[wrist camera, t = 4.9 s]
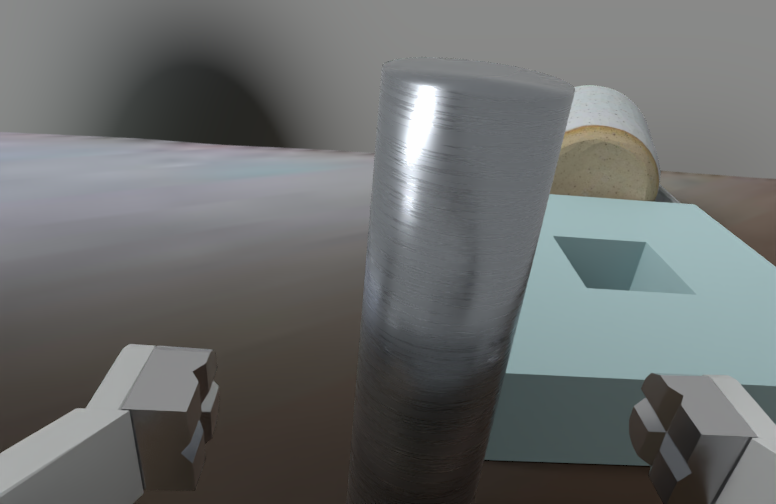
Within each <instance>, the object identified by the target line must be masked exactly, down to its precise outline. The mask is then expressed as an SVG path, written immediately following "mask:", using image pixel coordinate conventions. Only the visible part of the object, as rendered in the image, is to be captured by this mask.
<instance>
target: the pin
mask: <svg viewBox="0 0 776 504" xmlns="http://www.w3.org/2000/svg"><path fill="white" fill-rule="evenodd" d="M574 94H575V88H574V86H572V85H571V84H570V83H568V82H566V81H564V80H562V79H559V78H557V77H554V76H551V75H548V74H545V73H541V72H537V71H533V70H529V69H525V68H520V67H514V66H509V65H503V64H498V63H491V62H483V61H475V60H465V59H453V58H432V57H429V58H427V57H421V58H404V59H396V60H392V61H388V62H386V63H384V64H383V65H382V74H381V85H380V97H379V109H378V122H377V134H376V146H375V158H374V171H373V183H372V195H371V208H370V220H369V232H368V244H367V257H366V269H365V281H364V294H363V306H362V318H361V330H360V343H359V355H358V367H357V379H356V392H355V404H354V416H353V429H352V441H351V453H350V465H349V478H348V490H347V502H346V504H473V503H474V499H475V495H476V491H477V487H478V482H479V478H480V474H481V470H482V466H483V462H484V458H485V454H486V450H487V446H488V442H489V438H490V434H491V430H492V426H493V422H494V418H495V414H496V410H497V405H498V401H499V397H500V393H501V389H502V385H503V381H504V377H505V373H506V369H507V365H508V361H509V357H510V353H511V349H512V345H513V341H514V337H515V333H516V328H517V324H518V320H519V316H520V312H521V308H522V304H523V300H524V296H525V292H526V288H527V284H528V280H529V276H530V272H531V268H532V264H533V260H534V256H535V252H536V247H537V243H538V239H539V235H540V231H541V227H542V223H543V219H544V215H545V211H546V207H547V203H548V199H549V195H550V191H551V187H552V183H553V179H554V175H555V170H556V166H557V162H558V158H559V154H560V150H561V146H562V142H563V138H564V134H565V130H566V126H567V122H568V118H569V114H570V110H571V106H572V102H573V98H574Z"/></svg>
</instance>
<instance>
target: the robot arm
mask: <svg viewBox="0 0 776 504" xmlns="http://www.w3.org/2000/svg"><path fill="white" fill-rule="evenodd" d="M217 368H218V366H217V357H216V352H215V351H214V350H211V349H197V348H184V347H171V346H152V345H137V344H129V345H127V346H126V347H124V348H123V349H122V351H121V352H120V354H119V355H118V357H117V359H116V360H115V362H114V363H113V365H112V367H111V368H110V370H109V371H108V373H107V375H106V376H105V378H104V380H103V381H102V383H101V384H100V386H99V388H98V389H97V391H96V392H95V394H94V396H93V397H92V399H91V400H90V402H89V404H88V405H87V407H86V408H85V409H84V408H76V409H74V410H73V411H71V412H69V413H68V414H66V415H64V416H62V417H61V418H59V419H57V420H56V421H54V422H52V423H51V424H49V425H47V426H46V427H44V428H42V429H40V430H39V431H37V432H35V433H34V434H32V435H30V436H29V437H27V438H25V439H23V440H22V441H20V442H18V443H17V444H15V445H13V446H12V447H10V448H8V449H6V450H5V451H3V452H1V453H0V504H133V503H134V502H135V501H136V500H137V499H138V498H139V497H141V496H142V495H143V494H144V491H143V490H158V491H195V490H196V487H197V484H198V481H199V478H200V475H201V472H202V469H203V466H204V463H205V460H206V455H205V444H206V443H207V442H208V441H210V440H211V439H212V438H213V435H214V431H215V428H216V424H217V418H218V412H219V398H220V396H219V386H218V385H217V384H216V383H215V382H214V381H213V379H214V376H215V373H216V371H217ZM641 390H642V392H643V394H644V396H645V398H644V399H643V400H641V401H640V402H639V403H637V404H636V405H635V406H634V407H633V410H632V412H631V415H630V418H629V435H630V439H631V443H632V446H633V448H634V450H635V452H636V454H637V455H638V456H639V457H640V458H641V459H642V460H644V461H645V462H646V463H648V464H649V465H650V466H651V468H650V471H649V475H648V476H649V478H650V480H651V482H652V484H653V485H654V487H655V489H656V491H657V493H658V495H659V496H660V498H661V500H662V502H663V504H776V425H775V423H774V422H773V421H772V420H771V419H770V418H769V416H768V415H767V414H766V413H765V412H764V411H763V410H762V408H761V407H760V406H759V405H758V404H757V403H756V401H755V400H754V399H753V398H752V397H751V396H750V395H749V393H748V392H747V391H746V390H745V389H744V388H743V386H742V385H741V384H740V383H739V382H738V381H737V380H736V379H734V378H733V377H731V376H729V375H688V374H666V373H651V374H649V375H648V376H647V377H646V378H645V380H644V383H643V385H642V387H641Z"/></svg>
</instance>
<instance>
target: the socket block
mask: <svg viewBox="0 0 776 504" xmlns="http://www.w3.org/2000/svg"><path fill="white" fill-rule="evenodd" d="M651 373H666V374H688V375H729V376H731V377H733V378H734V379H736V380H737V381H738V382H739V383H740V384H741V385H742V386H743V388H744V389H745V390H746V391H747V392H748V393H749V395H750V396H751V397H752V398H753V399H754V400H755V401H756V403H757V404H758V405H759V406H760V407H761V408H762V410H763V411H764V412H765V413H766V414H767V415H768V416H769V418H770V419H771V420H772V421H773V422H774V423H775V425H776V267H775V266H774V265H772V264H771V263H770V262H769V261H767V260H766V259H765V258H763V257H762V256H761V255H759V254H758V253H757V252H756V251H754V250H753V249H752V248H750V247H749V246H748V245H747V244H745V243H744V242H743V241H741V240H740V239H739V238H737V237H736V236H735V235H734V234H732V233H731V232H730V231H728V230H727V229H726V228H725V227H723V226H722V225H721V224H719V223H718V222H717V221H716V220H714V219H713V218H712V217H710V216H709V215H708V214H706V213H705V212H704V211H703V210H701V209H700V208H699V207H697V206H696V205H694V204H680V203H666V202H652V201H638V200H624V199H611V198H597V197H583V196H569V195H555V194H550V195H549V199H548V203H547V207H546V211H545V215H544V219H543V223H542V227H541V231H540V235H539V239H538V243H537V247H536V252H535V256H534V260H533V264H532V268H531V272H530V276H529V280H528V284H527V288H526V292H525V296H524V300H523V304H522V308H521V312H520V316H519V320H518V324H517V328H516V333H515V337H514V341H513V345H512V349H511V353H510V357H509V361H508V365H507V369H506V373H505V377H504V381H503V385H502V389H501V393H500V397H499V401H498V405H497V410H496V414H495V418H494V422H493V426H492V430H491V434H490V438H489V442H488V446H487V450H486V454H485V458H484V460H502V461H530V462H558V463H585V464H613V465H641V466H650V465H649V464H648V463H646V462H645V461H644V460H642V459H641V458H640V457H639V456H638V455H637V454H636V452H635V450H634V448H633V446H632V443H631V439H630V435H629V418H630V415H631V412H632V410H633V407H634V406H635V405H636V404H637V403H639V402H640V401H641V400H643V399H644V398H645V396H644V394H643V392H642V390H641V387H642V385H643V383H644V380H645V378H646V377H647V376H648V375H649V374H651Z"/></svg>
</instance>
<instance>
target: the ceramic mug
mask: <svg viewBox="0 0 776 504" xmlns="http://www.w3.org/2000/svg"><path fill="white" fill-rule="evenodd" d="M574 88H575V94H574V98H573V102H572V106H571V110H570V114H569V118H568V122H567V126H566V130H565V134H564V138H563V142H562V146H561V150H560V154H559V158H558V162H557V166H556V170H555V175H554V179H553V183H552V187H551V191H550V194H555V195H569V196H583V197H597V198H611V199H624V200H638V201H652V202H666V203H680V202H679V201H678V200H677V199H676V198H675V197H674V196H672V195H671V194H670V193H669V192H668V191H667V190H666V189H664V188H663V187H662V186H661V185H660V172H661V171H660V165H659V160H658V156H657V153H656V149H655V147H654V145H653V142H652V139H651V135H650V131H649V128H648V125H647V122H646V120H645V118H644V116H643V114H642V113H641V111H640V110H639V108H638V107H637V106H636V105H635V104H634V103H633V102H632V101H631V100H630V99H629V98H627V97H626V96H625V95H623V94H622V93H620V92H618V91H616V90H613V89H610V88H607V87H603V86H578V87H574ZM680 204H681V203H680Z"/></svg>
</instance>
